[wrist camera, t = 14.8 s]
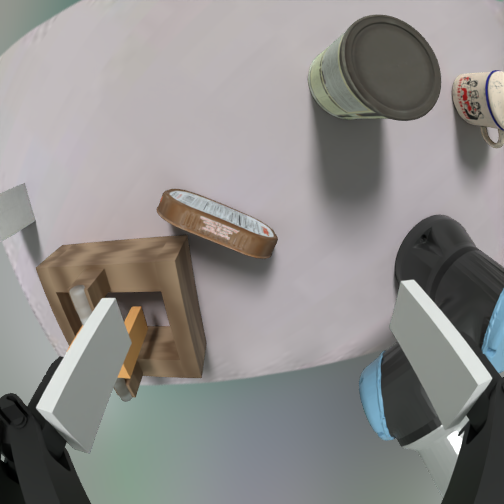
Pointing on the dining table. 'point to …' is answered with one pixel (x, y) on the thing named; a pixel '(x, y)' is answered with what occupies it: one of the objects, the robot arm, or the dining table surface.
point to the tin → (217, 223)
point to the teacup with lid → (481, 102)
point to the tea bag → (14, 211)
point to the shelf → (132, 280)
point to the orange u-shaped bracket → (132, 339)
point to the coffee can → (377, 72)
